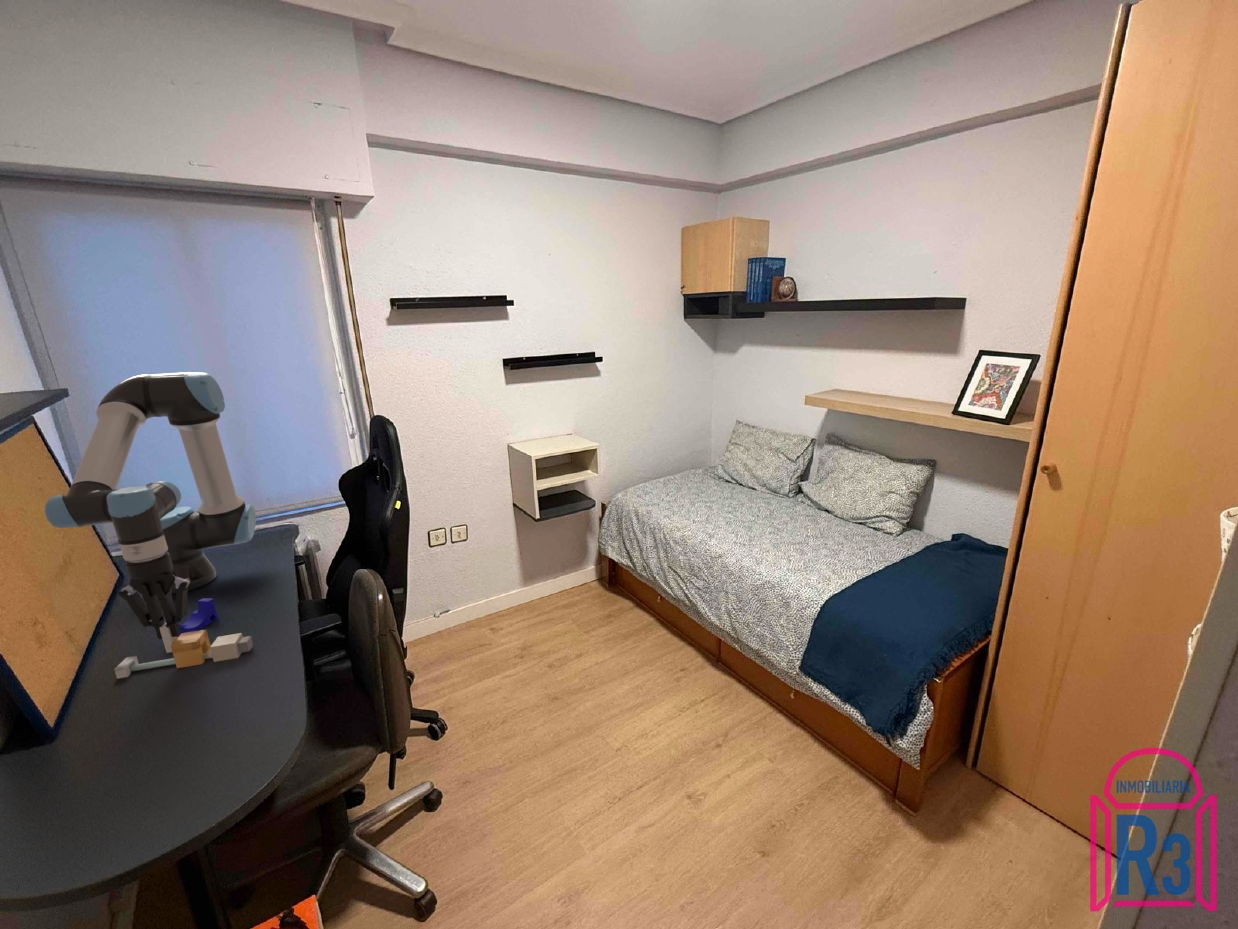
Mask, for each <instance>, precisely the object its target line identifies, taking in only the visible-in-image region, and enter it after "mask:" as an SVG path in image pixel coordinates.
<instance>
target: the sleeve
mask: <svg viewBox="0 0 1238 929" xmlns="http://www.w3.org/2000/svg"><path fill="white" fill-rule="evenodd" d="M207 630H208V629H200V630H198V631H193V632H187V633H181V635H180V636H179V637H178V638H177V639H176V640H175V641H174V642H173V644H172V645H171V649H172V652H171V653H172V656H173V658H174V659H175V663H176V664H175V666H176V668H177V669H182V668H188V667H193V666H198V665H203V664H204V663H205V661H206V659H205V658H204V655H203V653H207V650H209V649H210V646H211V643H210V639H209V634H208V631H207Z"/></svg>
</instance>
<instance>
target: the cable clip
mask: <svg viewBox="0 0 1238 929" xmlns="http://www.w3.org/2000/svg"><path fill="white" fill-rule="evenodd" d="M197 602H198V607H197V608H198V609H196V610H194V611H193V612H191V614H190V616H189V618H188V619H187V620H186V621H185V622H184V623H182V624H181V625H180V623H179V622H178V625H179V628H180V634H179V635H178V636H177V637H179V636H180V635H181V633H187V632H193V631H200V630H202V629H203V628H204V627H206V626H207V625H209V624H210V623H212V622H213V621H216V619H218V613H217V609H216V604H215V602H214V598H209V597H208V598H205V597H203V598H201V599H199V600H198V601H197ZM165 622H166V620H165V621H164V623H165Z"/></svg>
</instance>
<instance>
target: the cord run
mask: <svg viewBox="0 0 1238 929" xmlns="http://www.w3.org/2000/svg"><path fill="white" fill-rule="evenodd" d="M253 647H254V644H253V640H252V635H247V636H243V633H242V632H239V633H234V634H228V635H227V634H226V635H221V636H217V637H216V639H215V640H214V641H213V643H211V644H210V649H209V650H207V653H203V655H204V658H205V660H206V659H207V660H209V659H212V660H213V663H216V662H221V661H227V660H228V661H229V660H233V659H238V658H239V657H240V656H241V654H242V653H246V652H250V651H251V649H252V648H253ZM137 656H138V655H134V656H128V657H125V658H124V659H123V660H122V661H121V662H120V663H119V664H118V665H117V666H116V667H115V668H114V672H115V676H116V679H123V678H124V679H125V678H128V677H129V676H130V675H131V673H132V672H137V671H143V670H149V669H155V668H161V667H166V666H172V665H176V663H175V659H174V657H172V658H167V659H161V660H154V661H149V662H143V663H139V659H138V657H137Z"/></svg>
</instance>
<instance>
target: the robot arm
mask: <svg viewBox="0 0 1238 929" xmlns="http://www.w3.org/2000/svg"><path fill="white" fill-rule="evenodd" d="M225 407H226V404H225V398H224V394H223V392H222V390H221V387H220V385H219V383H218V381H217V380H216V379H215V378H214V377H213V376H212V375H210V374H209V373H207V372H191V371H186V372H169V373H154V374H150V373H149V374H139V375H135V376H132V377H129V378H127V379H125V380H123V381H121V382H120V383H119V384H117V385H116V386H114V387H113V388H111V389H110V391H108V392H107V393H106V394H105V395H104V397H103V398H102V399H101V400H100V402H99V404H98V406H97V408H96V410H95V411H96V412H95V413H96V417H97V418H98V421H97V423H96V425H95V427H94V430H93V432H92V435H91V437H90V440H89V442H88V445H87V446H86V449H85V452H84V454H83V456H82V458H81V461H80V464H79V465H78V467H77V468H78V469H77V471H76V473H75V475H74V477H73V480H72V483H71V485H70V487H69V489H68V491H67V493H65V494H64V493H61V494H58V495H53V496H52V497H50V498H49V499H48V500H46V502H45V505H44V514H45V518H46V520H47V522H49V524H51V526H53V527H54V528H57V529H69V528H70V529H71V528H82V527H89V526H95V525H96V526H97V525H102V524H103V525H104V524H110V523H112V524H113V527H114V531H115V534H116V537H117V541H118V545H119V548H120V551H121V556H122V557H123V558H122V559H123V560H125V563H124V565H125V569H126V572H127V576H128V577H129V579H130V580H129V581H128V585H126V586H124V587H123V588H122V589H120V591H118V594H117V595H119V596H120V597H121V598H122V599H123V600H125V601H126V603H127V604H128V605H129V607H130V608H131V610H132V611H133V613H134V615H135V616H136V617H137V619H138V620H139V622H140V623H141V625H142V626H143V627H145V628H148V627H153V628H154V629H155V634H156V636H157V639H158V640H162V642H163V646H164V649H165V652H166V654H168V653H173V652H172V649H171V645H172V644H173V642H174V641H175V640H176V639H177V638H178V637H177V636H178V635H179V634H180V628H179V625H180V624H179V625H178V623H179V622H182V620H183V619H184V618H185V617H186V616H187V608H188V607H187V606H188V592H189V591H192V590H195V589H198V588H200V587H204V586H205V585H207V584H209V583H211V582H212V581H214V580H215V579H216V577H217V571H216V568H215V566H214V565H213V564H212V563H211V562H210V560H209V559H208V557H207V556H206V554H205V552H204V549H213V548H218V547H224V546H225V547H226V546H231V545H234V546H236V545H238V544H243V543H244V544H245V543H247V542H249V541H251V540H252V539H253V537H254V534H255V530H256V511H255V508H254V506H253V505H252V504H245V500H244V498H243V497H242V496H239V495H237V494H236V489H235V487H234V484H233V483H234V482H233V478H232V475H231V472H230V469H229V466H228V461H227V458H226V455H225V452H224V447H223V444H222V442H221V437H220V434H219V430H218V427H217V422H218V421H219V420H220V419H221V413H223V412H224V410H225ZM161 417H162V418H163V417H164V418H165V417H167V420H168V423H169V425H170V426H172V427H174V428H177V429H178V431H179V435H180V438H181V442H182V444H183V446H184V450H185V453H186V457H187V460H188V463H189V466H190V470H191V472H192V475H193V478H194V482H195V485H196V488H197V489H196V490H198V491H197V492H198V495H199V498H200V500H201V504H200V505H199V506H198V507H197V511H194V510H195V509H194V508H193V507H191V506H181V507H180V506H179V507H177V506H178V505H179V503H180V502H181V500H182V494H181V491H180V489H179V488H178V487H177V486H176V485H175V484H174V483H172V482H168V481H166V480H165V481H164V480H156V481H153V482H150V483H148V484H146V485H135V486H129V487H122V488H117V487H118V485H119V481H120V479H121V476H122V473H123V470H124V467H125V465H126V462H127V459H128V457H129V453H130V450H131V447H132V445H133V442H134V439H135V437H136V434H137V430H138V429H139V428H142V427H143V426H145V423H146V421H147V420H148V419H152V418H161ZM139 593H140V594H141V595H142V597H141V595H140V594H139ZM173 594H174V595H175V594H176V595H175V602H174V600H173ZM165 620H166V622H165V623H164V621H165Z"/></svg>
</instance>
